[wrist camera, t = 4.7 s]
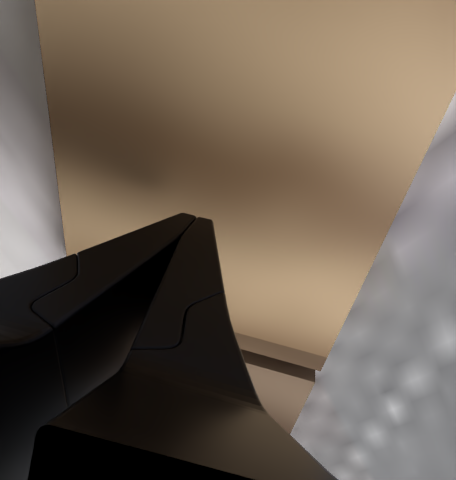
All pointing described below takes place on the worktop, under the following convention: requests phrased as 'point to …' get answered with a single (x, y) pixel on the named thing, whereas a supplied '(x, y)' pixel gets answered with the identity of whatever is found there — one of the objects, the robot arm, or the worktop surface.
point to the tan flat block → (280, 386)
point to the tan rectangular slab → (250, 138)
